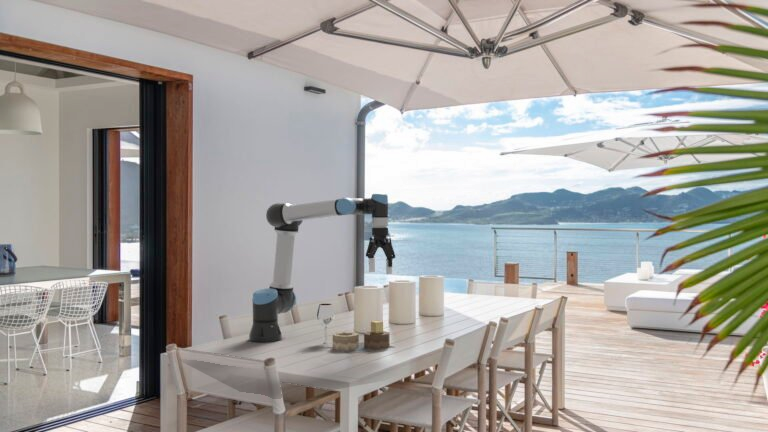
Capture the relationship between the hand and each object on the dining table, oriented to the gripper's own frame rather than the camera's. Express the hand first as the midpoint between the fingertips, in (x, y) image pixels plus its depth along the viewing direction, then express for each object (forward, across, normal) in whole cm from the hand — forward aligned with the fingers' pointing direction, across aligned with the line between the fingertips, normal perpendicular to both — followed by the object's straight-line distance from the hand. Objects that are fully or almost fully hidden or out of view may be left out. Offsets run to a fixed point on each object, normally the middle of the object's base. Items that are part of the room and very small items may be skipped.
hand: (380, 273), depth 308 cm
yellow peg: (+31, -11, +10) cm, 34 cm away
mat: (+32, -8, +16) cm, 36 cm away
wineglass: (+32, +11, +23) cm, 41 cm away
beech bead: (+31, -5, +22) cm, 39 cm away
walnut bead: (+31, -11, +10) cm, 34 cm away
